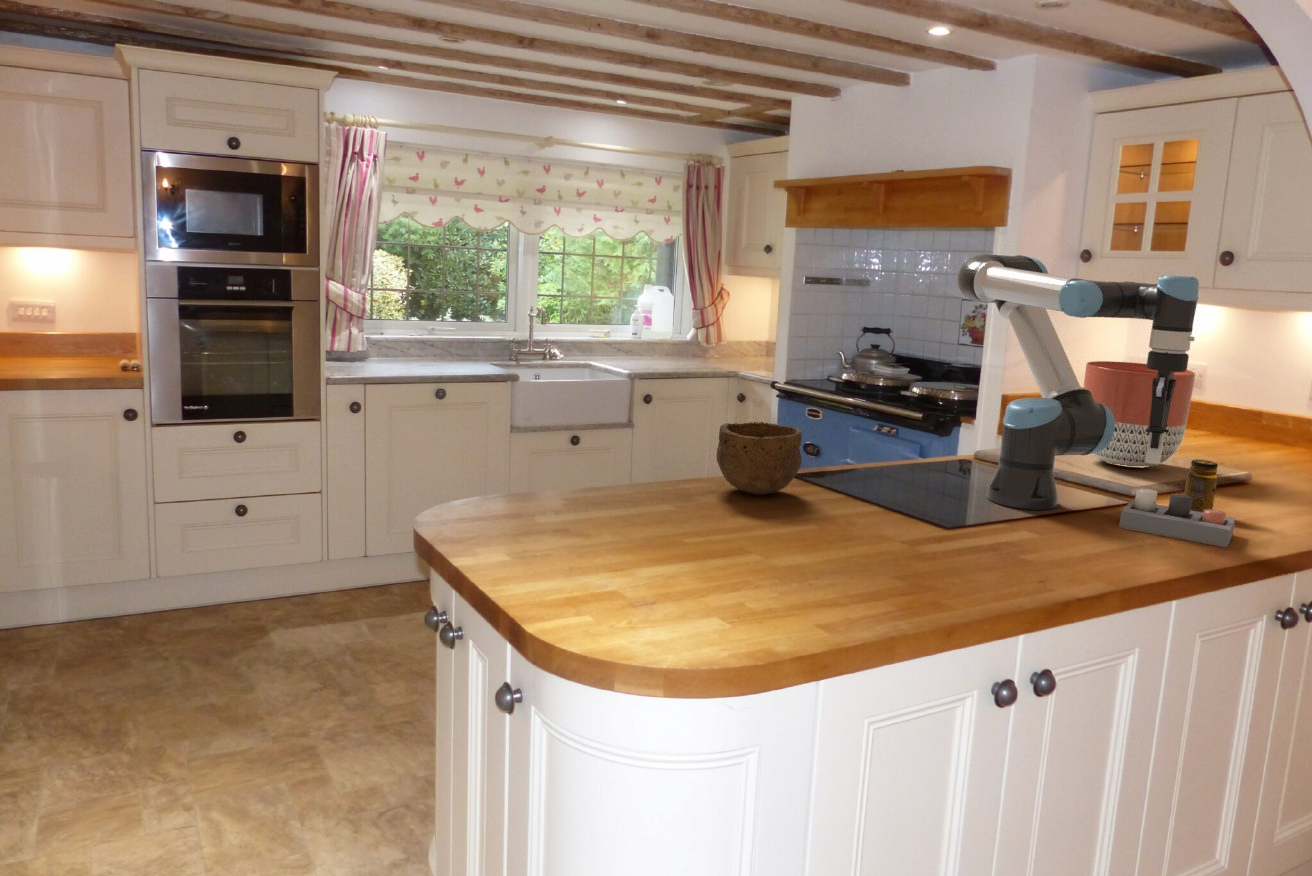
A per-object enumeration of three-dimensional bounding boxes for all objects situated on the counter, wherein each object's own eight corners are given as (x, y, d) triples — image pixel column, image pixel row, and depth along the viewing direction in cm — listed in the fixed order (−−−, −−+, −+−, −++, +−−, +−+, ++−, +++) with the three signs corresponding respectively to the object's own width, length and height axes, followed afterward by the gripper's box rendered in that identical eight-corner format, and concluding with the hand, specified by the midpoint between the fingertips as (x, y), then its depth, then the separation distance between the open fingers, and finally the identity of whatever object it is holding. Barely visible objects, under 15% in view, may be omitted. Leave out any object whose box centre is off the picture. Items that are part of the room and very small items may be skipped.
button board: (1119, 527, 212) (1121, 510, 211) (1129, 515, 222) (1131, 500, 221) (1226, 547, 201) (1229, 530, 200) (1232, 534, 211) (1235, 518, 210)
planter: (1062, 464, 272) (1076, 365, 267) (1085, 450, 294) (1098, 358, 289) (1171, 482, 258) (1187, 378, 252) (1186, 466, 279) (1201, 369, 274)
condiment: (1219, 515, 226) (1228, 463, 224) (1199, 519, 222) (1207, 466, 219) (1187, 507, 232) (1196, 456, 230) (1167, 511, 228) (1175, 459, 225)
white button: (1132, 508, 214) (1135, 490, 213) (1135, 505, 217) (1138, 487, 216) (1153, 512, 212) (1156, 494, 211) (1156, 508, 215) (1159, 490, 214)
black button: (1166, 514, 210) (1169, 496, 209) (1169, 511, 213) (1172, 492, 213) (1187, 518, 208) (1190, 499, 207) (1190, 514, 211) (1193, 496, 210)
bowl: (702, 496, 220) (706, 429, 217) (729, 478, 237) (733, 416, 234) (785, 508, 213) (791, 439, 210) (807, 489, 230) (812, 426, 227)
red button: (1199, 530, 207) (1202, 511, 206) (1202, 526, 210) (1205, 507, 209) (1221, 534, 205) (1224, 515, 204) (1223, 530, 208) (1226, 511, 207)
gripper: (1184, 355, 200) (1167, 470, 205) (1193, 351, 211) (1176, 461, 215) (1143, 351, 204) (1127, 464, 209) (1154, 347, 215) (1138, 455, 219)
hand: (1152, 462), depth 212 cm, fingers closed
